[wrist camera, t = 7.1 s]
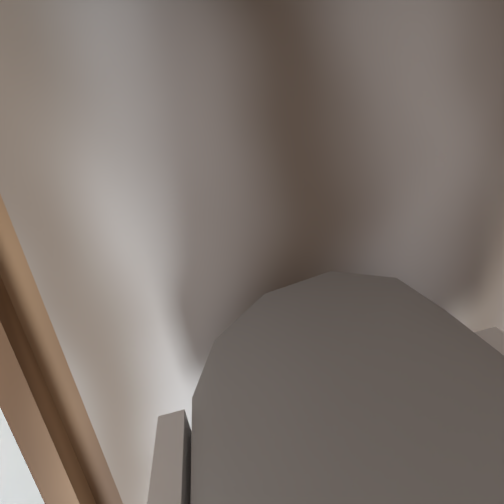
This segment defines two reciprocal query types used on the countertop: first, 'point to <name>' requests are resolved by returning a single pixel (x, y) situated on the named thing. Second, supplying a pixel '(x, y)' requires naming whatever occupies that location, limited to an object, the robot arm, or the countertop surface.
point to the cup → (348, 401)
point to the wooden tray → (223, 194)
